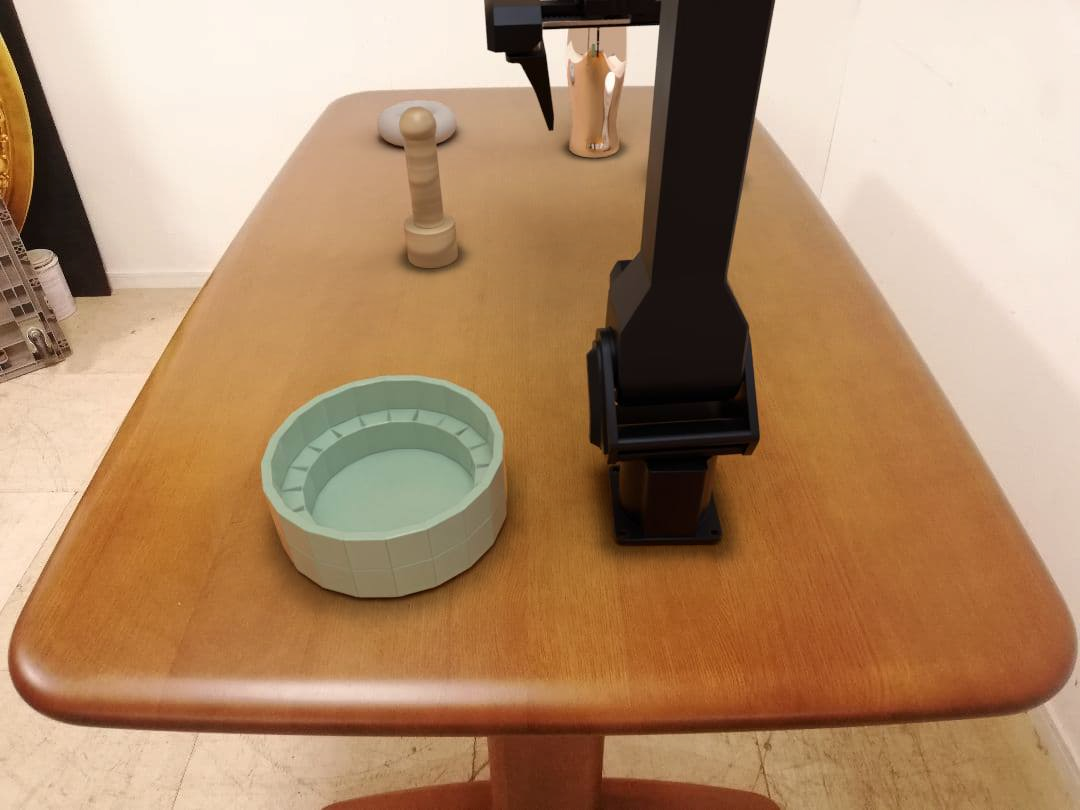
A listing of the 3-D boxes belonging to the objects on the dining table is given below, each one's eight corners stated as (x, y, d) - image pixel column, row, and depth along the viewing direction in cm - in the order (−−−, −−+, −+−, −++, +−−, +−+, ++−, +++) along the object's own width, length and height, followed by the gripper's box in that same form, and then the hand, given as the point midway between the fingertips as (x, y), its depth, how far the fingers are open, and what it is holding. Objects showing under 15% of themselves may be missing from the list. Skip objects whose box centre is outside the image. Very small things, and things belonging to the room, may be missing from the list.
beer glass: (555, 143, 96) (555, 11, 87) (605, 133, 98) (610, 3, 89) (581, 163, 91) (583, 26, 82) (633, 153, 94) (641, 17, 84)
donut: (448, 119, 104) (373, 127, 102) (446, 92, 102) (369, 100, 99) (465, 146, 96) (385, 155, 94) (464, 118, 94) (381, 127, 92)
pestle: (456, 268, 73) (441, 116, 64) (405, 269, 73) (383, 118, 64) (460, 243, 77) (446, 97, 68) (411, 244, 77) (391, 98, 68)
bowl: (504, 601, 44) (499, 537, 41) (255, 604, 44) (229, 541, 41) (510, 434, 55) (506, 372, 52) (310, 437, 55) (293, 376, 52)
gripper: (729, -132, 57) (699, 78, 69) (476, -125, 57) (488, 87, 68) (771, -91, 50) (730, 139, 61) (479, -81, 49) (492, 150, 60)
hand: (607, 125), depth 63 cm, fingers open, 9 cm apart
